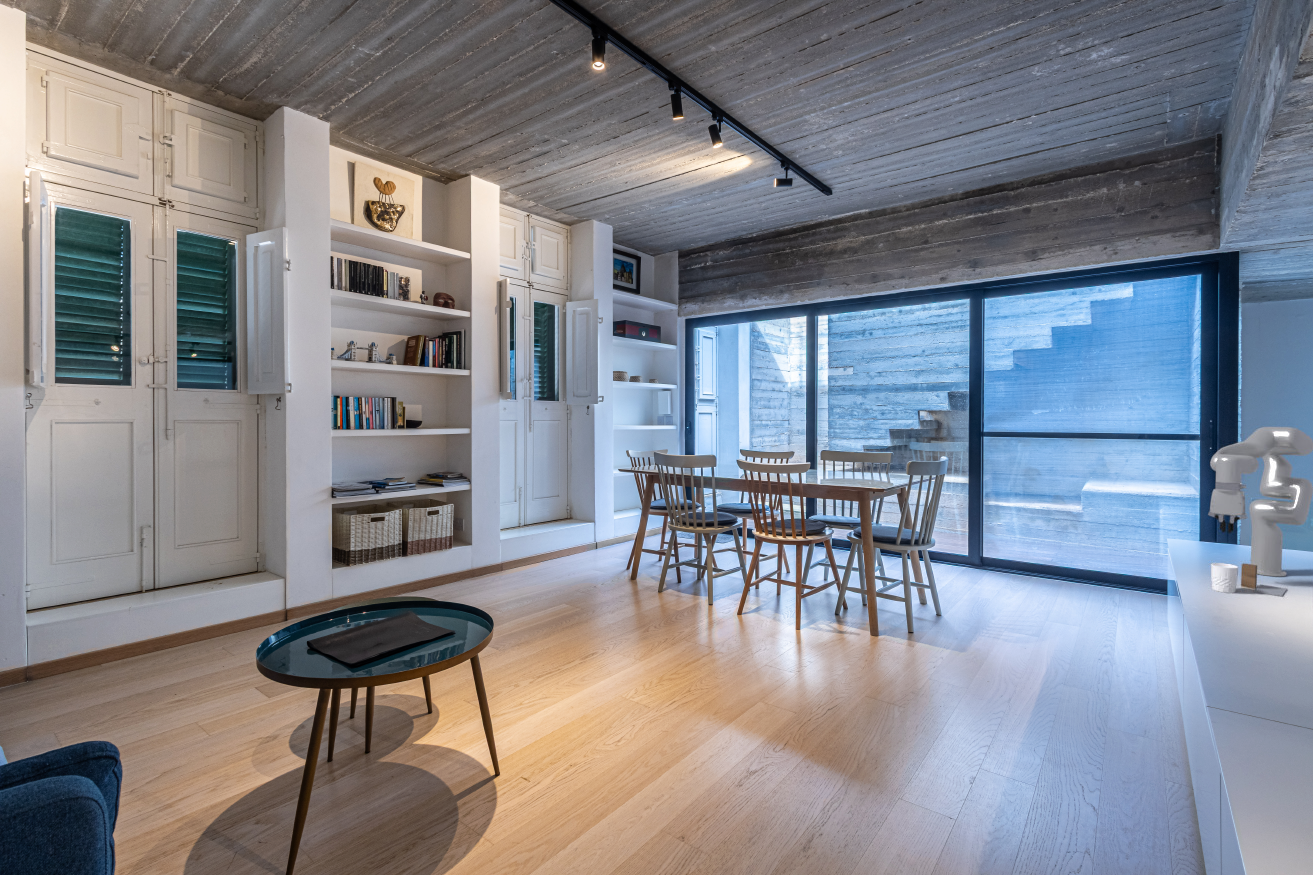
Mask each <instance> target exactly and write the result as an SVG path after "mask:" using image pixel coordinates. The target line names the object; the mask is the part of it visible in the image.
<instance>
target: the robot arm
mask: <svg viewBox="0 0 1313 875" xmlns="http://www.w3.org/2000/svg"><path fill="white" fill-rule="evenodd" d="M1312 452H1313V439H1312V438H1311V436H1309V435H1308V434H1306V433H1305V432H1304V431H1303V430H1301V429H1298V428H1296V427H1291V426H1263V427H1260V428H1257V429H1256V430H1254V431H1253V433H1252V434H1250V435H1249V436H1248V437H1247V438H1246V439H1245V440H1244V441H1239V442H1236V443H1233V444H1230V445H1227V446H1223V447H1221V448H1219V449H1218V450H1217V451H1216V452H1215V453H1214V454H1213V455H1212V457H1211V459H1210V462H1209V463H1210V464H1209V465H1210V468H1211V469H1212V470H1213V471H1214V472H1215V488H1214V489H1213V490H1212V492H1211V498H1210V507H1209V511H1208V514H1207V515H1208V516H1210V517H1212V518H1215V519H1216V520H1217V521H1218V522H1219V530H1221V533H1225V532H1226V531H1227V533H1228V534H1232V532H1234V529H1235V528H1234V526H1235V524H1234V523H1236V522H1237V521H1239V520H1246V519H1247V518H1248V517H1247V514H1246V498H1245V492H1244V489H1247V485H1245V484H1243V483H1242V475H1243V474H1244V475H1249V474H1252V473H1253V474H1254V473H1255V472H1257V470H1258V469H1259V466H1260V465H1259V464H1260V463H1259V461H1258V459H1260V458H1262V460H1263V464H1264V467H1263V471H1262V472H1263V473H1262V476H1261V479H1260V484H1259V493H1260V494H1261V496H1262V497H1266V498H1269V499H1265V498H1263V499H1260V498H1259V499H1255V500H1253V501H1251V503H1250V504H1249V515H1250V521H1251V522H1250V523H1251V541H1250V543H1251V544H1250V564H1252V565H1257V575H1261V576H1267V577H1268V576H1269V577H1286V576H1287V572H1286V571H1285V570H1282V565H1283V564H1282V562H1283V539H1284V536H1283V532H1282V529H1281V528H1280V526H1278V525H1277V524H1282V525H1291V526H1292V525H1293V526H1302V525H1304V524H1305V523H1306V522H1307V519H1308V516H1309V511H1310V507H1311V502H1312V498H1313V483H1312V482H1311V481H1310V480H1309V479H1307V478H1303V477H1293V476H1292V472H1293V465H1292V464H1291V463H1290V461H1288V459H1286V457H1284V456H1307V455H1309V454H1311V453H1312ZM1291 476H1292V477H1291ZM1242 489H1243V490H1242ZM1276 499H1280V500H1276ZM1285 500H1286V501H1285ZM1287 500H1289V501H1287ZM1225 516H1230V517H1229V521H1228V523H1226V520H1225ZM1226 527H1227V528H1226Z"/></svg>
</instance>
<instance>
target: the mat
mask: <svg viewBox="0 0 1313 875" xmlns="http://www.w3.org/2000/svg"><path fill="white" fill-rule="evenodd" d="M1287 590H1288V589H1287V588H1284V587H1279V586H1272V585H1267V584H1266V585H1265V584H1259V586H1257V588H1256V589H1255V590H1254V593H1255V594H1264V595H1271V596H1277V597H1283V596H1284V595H1285V593H1286V592H1287Z"/></svg>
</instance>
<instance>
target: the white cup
mask: <svg viewBox="0 0 1313 875" xmlns="http://www.w3.org/2000/svg"><path fill="white" fill-rule="evenodd" d="M1238 572H1239V566H1237V565H1234V564H1230V563H1223V562H1222V563H1221V562H1219V563H1218V562H1213V563H1211V564H1210V576H1211V577H1210V580H1211V589H1212V590H1213V591H1215V592H1218V593H1219V592H1220V593H1224V594H1225V593H1227V594H1235V593H1236V587H1237V582H1238Z"/></svg>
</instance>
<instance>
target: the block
mask: <svg viewBox="0 0 1313 875" xmlns="http://www.w3.org/2000/svg"><path fill="white" fill-rule="evenodd" d="M1240 573H1241V574H1240V577H1241V578H1240V588H1244V589H1248V590H1249V589H1250V590H1254V591H1255V590H1256V589H1257V588H1258V586H1257V585H1258V584H1257V583H1258V582H1257V581H1258V574H1257V565H1252V564H1251V563H1242V564H1241V572H1240Z"/></svg>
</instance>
